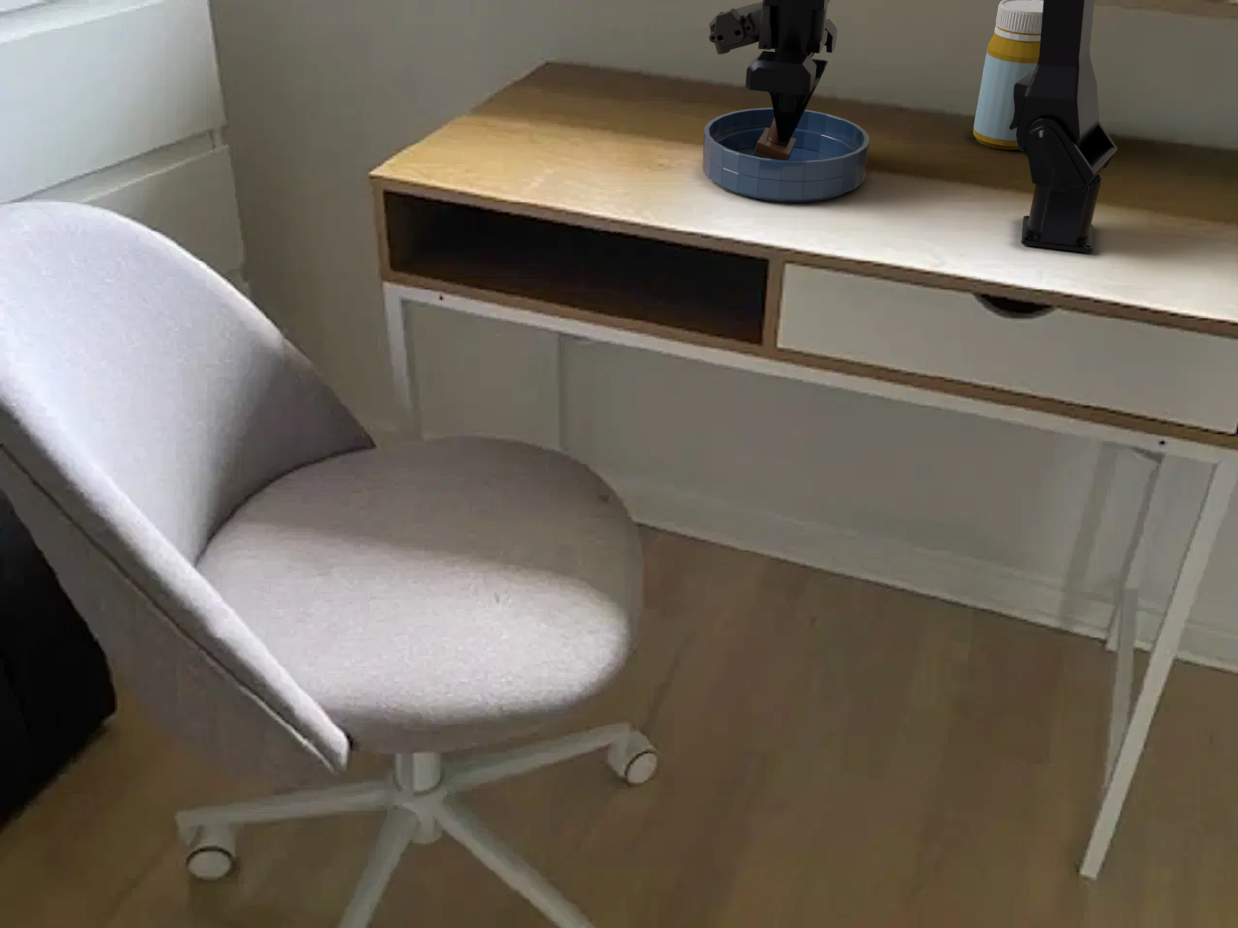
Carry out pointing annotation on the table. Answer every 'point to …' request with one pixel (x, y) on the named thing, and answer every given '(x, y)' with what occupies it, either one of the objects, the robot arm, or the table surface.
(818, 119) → the bowl
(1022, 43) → the bottle
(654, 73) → the table surface
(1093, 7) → the robot arm
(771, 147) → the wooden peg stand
